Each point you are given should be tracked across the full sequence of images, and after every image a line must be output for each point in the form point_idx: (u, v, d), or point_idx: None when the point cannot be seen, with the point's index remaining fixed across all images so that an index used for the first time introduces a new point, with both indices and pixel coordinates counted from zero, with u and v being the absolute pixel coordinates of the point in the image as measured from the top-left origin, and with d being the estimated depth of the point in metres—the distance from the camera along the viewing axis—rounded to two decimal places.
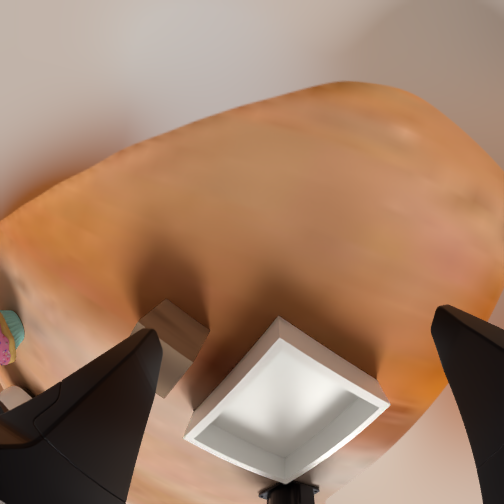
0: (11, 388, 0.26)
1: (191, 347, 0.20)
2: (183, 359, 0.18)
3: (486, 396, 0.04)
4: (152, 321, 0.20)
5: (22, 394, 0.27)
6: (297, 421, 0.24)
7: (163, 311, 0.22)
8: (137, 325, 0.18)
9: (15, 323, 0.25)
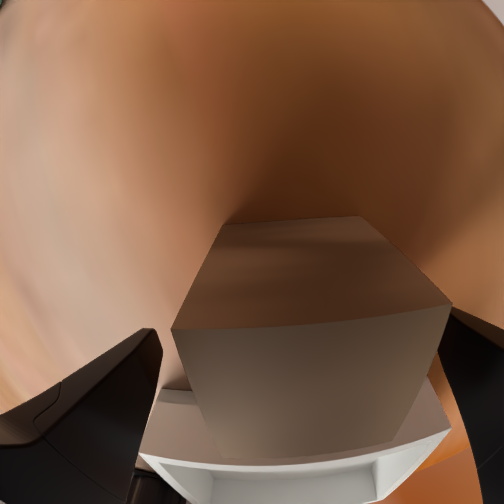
0: None
1: None
2: (389, 432, 0.05)
3: (486, 396, 0.04)
4: None
5: None
6: None
7: None
8: (439, 312, 0.04)
9: None
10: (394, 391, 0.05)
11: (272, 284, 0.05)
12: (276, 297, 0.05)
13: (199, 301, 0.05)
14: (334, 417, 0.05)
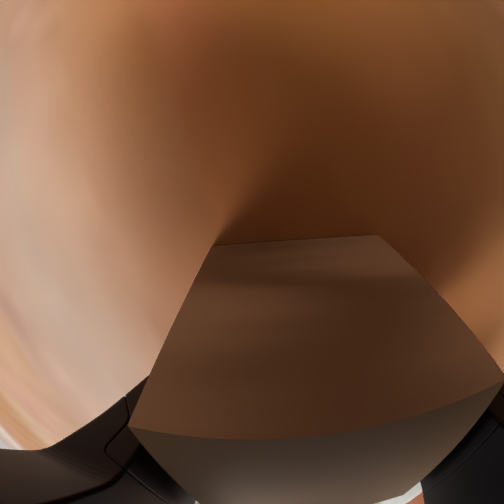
0: None
1: None
2: (402, 490, 0.04)
3: None
4: None
5: None
6: None
7: None
8: (490, 391, 0.02)
9: None
10: (416, 466, 0.03)
11: (271, 354, 0.04)
12: (276, 382, 0.03)
13: (168, 380, 0.03)
14: (343, 493, 0.03)
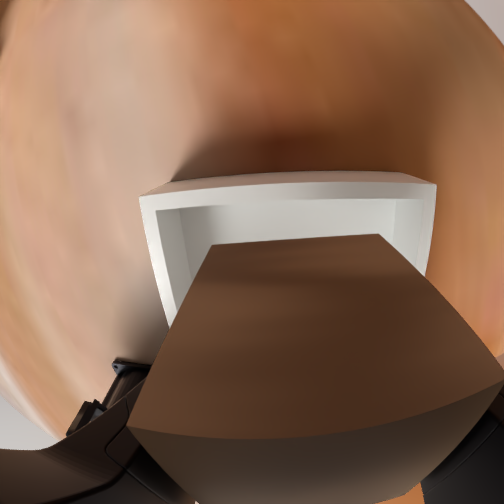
0: None
1: None
2: (403, 490, 0.04)
3: None
4: None
5: None
6: None
7: None
8: (492, 390, 0.02)
9: None
10: (418, 465, 0.03)
11: (271, 354, 0.04)
12: (276, 380, 0.03)
13: (167, 379, 0.03)
14: (343, 493, 0.03)
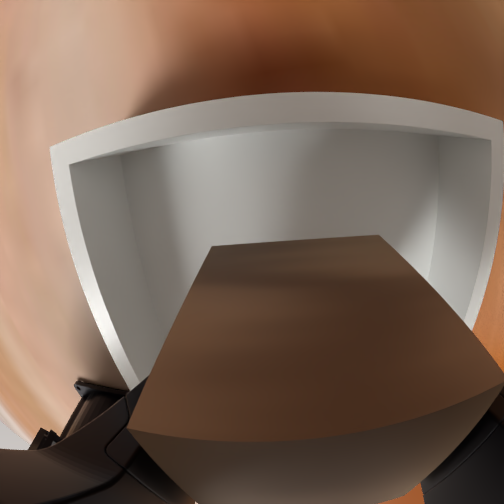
0: None
1: None
2: (402, 491, 0.04)
3: None
4: None
5: None
6: None
7: None
8: (491, 392, 0.02)
9: None
10: (417, 467, 0.03)
11: (271, 356, 0.04)
12: (276, 384, 0.03)
13: (168, 381, 0.03)
14: (343, 494, 0.03)
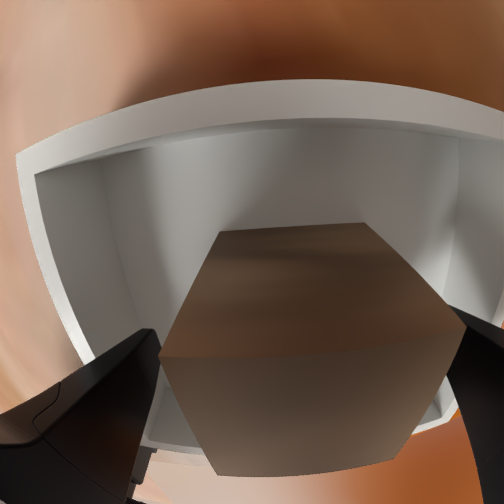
0: None
1: None
2: (391, 451, 0.05)
3: (486, 396, 0.04)
4: None
5: None
6: None
7: None
8: (452, 336, 0.03)
9: None
10: (399, 415, 0.04)
11: (270, 304, 0.05)
12: (274, 320, 0.04)
13: (190, 323, 0.05)
14: (335, 440, 0.05)
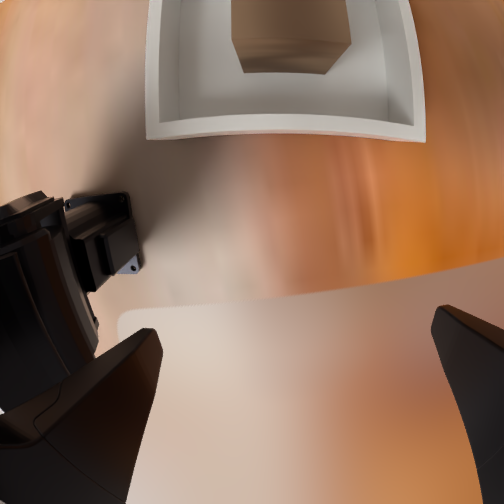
0: None
1: None
2: (343, 29, 0.08)
3: (486, 396, 0.04)
4: None
5: None
6: None
7: None
8: None
9: None
10: None
11: None
12: None
13: None
14: (299, 0, 0.08)
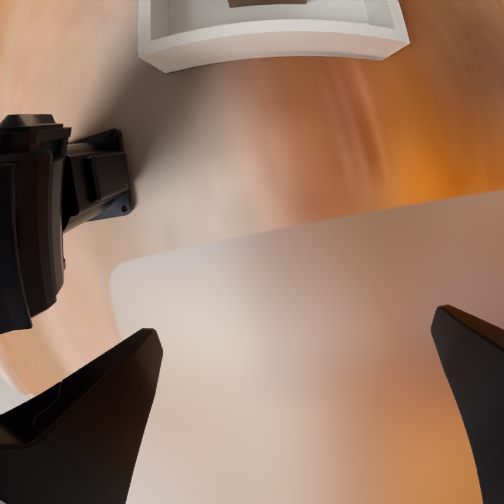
0: None
1: None
2: None
3: (486, 396, 0.04)
4: None
5: None
6: (257, 5, 0.12)
7: None
8: None
9: None
10: None
11: None
12: None
13: None
14: None
